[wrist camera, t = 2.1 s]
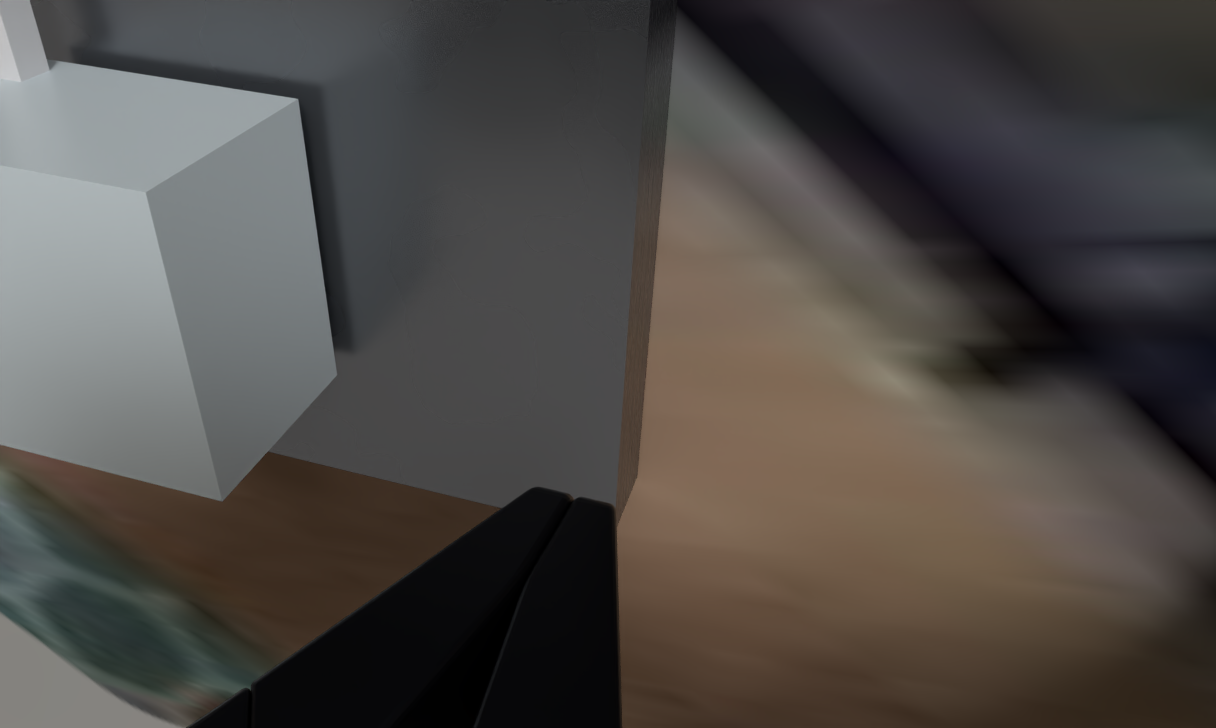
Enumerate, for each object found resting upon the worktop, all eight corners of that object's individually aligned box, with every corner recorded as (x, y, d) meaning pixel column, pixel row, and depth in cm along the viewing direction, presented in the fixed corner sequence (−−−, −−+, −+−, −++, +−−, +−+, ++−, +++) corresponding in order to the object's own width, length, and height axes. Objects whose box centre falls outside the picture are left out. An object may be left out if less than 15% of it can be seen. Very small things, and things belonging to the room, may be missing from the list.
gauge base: (692, -177, 11) (549, -109, 7) (637, 476, 17) (541, 714, 13) (-413, -272, 15) (-920, -261, 11) (-146, 297, 20) (-411, 442, 16)
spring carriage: (262, -154, 11) (70, -112, 8) (337, 374, 15) (222, 501, 13) (-34, -183, 12) (-285, -154, 9) (116, 326, 16) (-31, 436, 13)
